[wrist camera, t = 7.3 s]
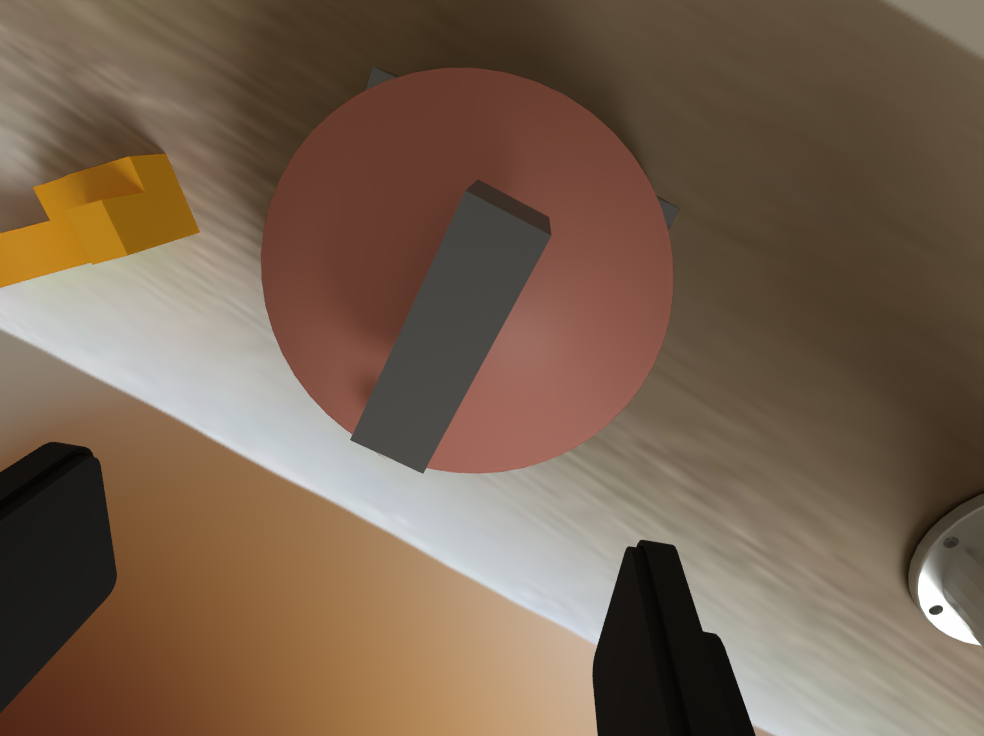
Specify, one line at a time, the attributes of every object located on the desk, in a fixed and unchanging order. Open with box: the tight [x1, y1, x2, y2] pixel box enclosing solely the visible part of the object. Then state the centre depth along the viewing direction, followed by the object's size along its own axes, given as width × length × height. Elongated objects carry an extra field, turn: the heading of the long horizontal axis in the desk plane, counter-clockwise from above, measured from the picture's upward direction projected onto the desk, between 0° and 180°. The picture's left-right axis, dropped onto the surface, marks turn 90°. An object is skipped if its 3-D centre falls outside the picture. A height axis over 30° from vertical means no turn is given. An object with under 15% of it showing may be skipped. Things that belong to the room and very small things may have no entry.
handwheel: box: [261, 68, 674, 473], centre depth 23 cm, size 18×18×7 cm
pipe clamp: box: [0, 154, 200, 288], centre depth 30 cm, size 12×4×6 cm, turn 104°
